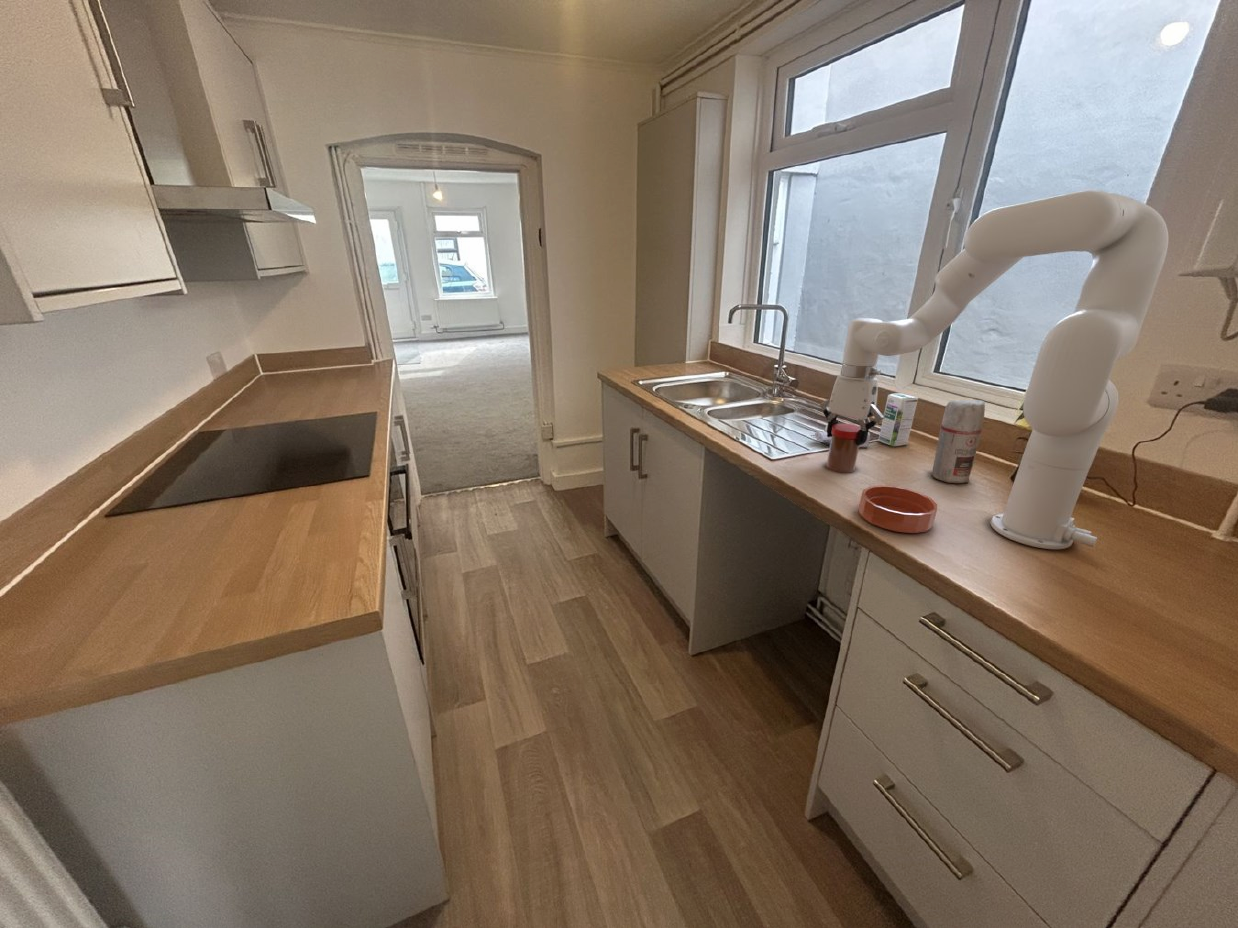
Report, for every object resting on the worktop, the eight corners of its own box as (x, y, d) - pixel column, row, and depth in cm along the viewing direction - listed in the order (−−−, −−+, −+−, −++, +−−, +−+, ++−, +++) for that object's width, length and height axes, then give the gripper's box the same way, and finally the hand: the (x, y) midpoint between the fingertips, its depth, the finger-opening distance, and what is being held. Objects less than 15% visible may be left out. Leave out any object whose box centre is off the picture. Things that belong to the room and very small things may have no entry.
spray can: (933, 482, 118) (954, 402, 110) (925, 469, 125) (944, 394, 117) (973, 486, 115) (997, 405, 108) (963, 473, 122) (985, 396, 115)
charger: (804, 439, 148) (852, 438, 148) (817, 449, 139) (868, 448, 140) (806, 424, 146) (855, 423, 146) (819, 434, 137) (871, 433, 138)
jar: (859, 468, 126) (867, 430, 122) (845, 474, 122) (852, 435, 118) (835, 460, 131) (842, 423, 127) (821, 466, 127) (827, 428, 123)
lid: (867, 435, 122) (869, 428, 122) (852, 441, 118) (853, 434, 118) (840, 428, 128) (842, 421, 127) (825, 433, 124) (826, 426, 123)
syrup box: (877, 440, 146) (886, 394, 140) (892, 438, 147) (902, 392, 142) (892, 447, 141) (903, 398, 135) (908, 444, 142) (919, 397, 137)
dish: (943, 521, 100) (949, 502, 98) (912, 542, 92) (918, 521, 90) (878, 498, 110) (882, 480, 108) (845, 515, 102) (849, 496, 101)
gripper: (902, 375, 113) (886, 446, 119) (833, 364, 126) (822, 429, 132) (886, 379, 109) (871, 452, 115) (816, 367, 122) (806, 434, 128)
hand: (845, 439), depth 124 cm, fingers closed on lid, 7 cm apart
